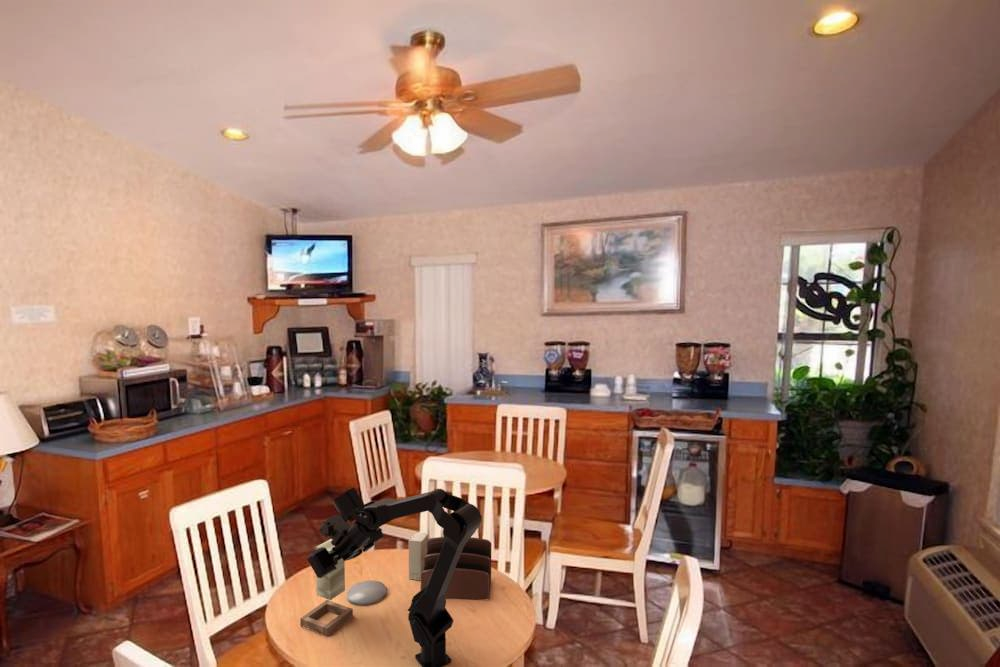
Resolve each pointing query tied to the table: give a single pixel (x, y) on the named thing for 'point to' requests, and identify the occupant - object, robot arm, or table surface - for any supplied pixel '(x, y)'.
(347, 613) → the pocket block
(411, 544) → the skincare box
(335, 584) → the tall khaki square post
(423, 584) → the letter holder
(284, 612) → the table surface
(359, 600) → the coaster
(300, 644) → the table surface
